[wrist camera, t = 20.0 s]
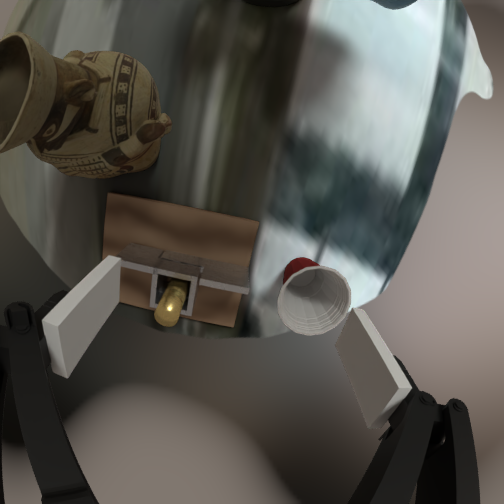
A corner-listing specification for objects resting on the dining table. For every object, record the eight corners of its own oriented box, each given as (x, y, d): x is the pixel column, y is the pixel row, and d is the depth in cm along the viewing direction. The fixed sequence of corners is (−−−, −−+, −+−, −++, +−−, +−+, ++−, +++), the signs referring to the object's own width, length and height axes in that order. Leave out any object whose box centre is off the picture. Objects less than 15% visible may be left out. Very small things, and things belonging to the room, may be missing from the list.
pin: (177, 261, 48) (155, 303, 35) (196, 265, 49) (179, 309, 35) (174, 277, 49) (153, 322, 36) (192, 282, 50) (176, 329, 37)
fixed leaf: (166, 249, 48) (152, 268, 40) (248, 267, 49) (249, 288, 41) (161, 284, 50) (149, 307, 42) (239, 301, 51) (239, 326, 43)
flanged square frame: (130, 242, 47) (113, 258, 39) (204, 258, 48) (197, 277, 41) (128, 277, 49) (111, 297, 41) (197, 293, 50) (191, 316, 43)
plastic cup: (322, 233, 49) (345, 257, 38) (334, 287, 52) (356, 322, 41) (261, 252, 50) (267, 282, 38) (278, 305, 53) (287, 344, 42)
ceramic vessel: (160, 200, 46) (59, 268, 18) (63, 160, 43) (-67, 184, 14) (207, 94, 41) (156, 8, 12) (102, 62, 37) (-11, 6, 9)
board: (110, 191, 45) (107, 192, 44) (258, 221, 48) (259, 223, 47) (104, 294, 51) (101, 296, 50) (233, 323, 54) (233, 327, 53)
